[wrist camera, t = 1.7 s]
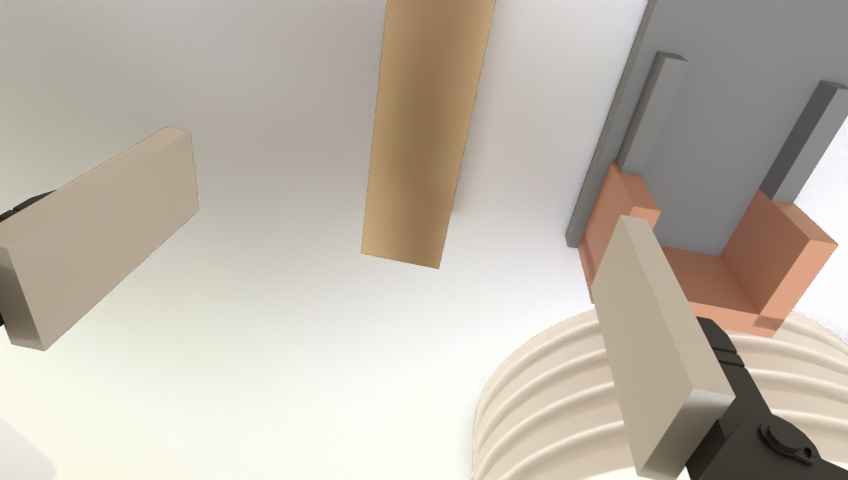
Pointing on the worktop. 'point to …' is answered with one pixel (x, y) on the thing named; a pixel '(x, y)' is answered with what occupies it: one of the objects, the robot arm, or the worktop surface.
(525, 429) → the plate stack
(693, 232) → the rail
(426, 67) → the oak slat
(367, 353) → the worktop surface
